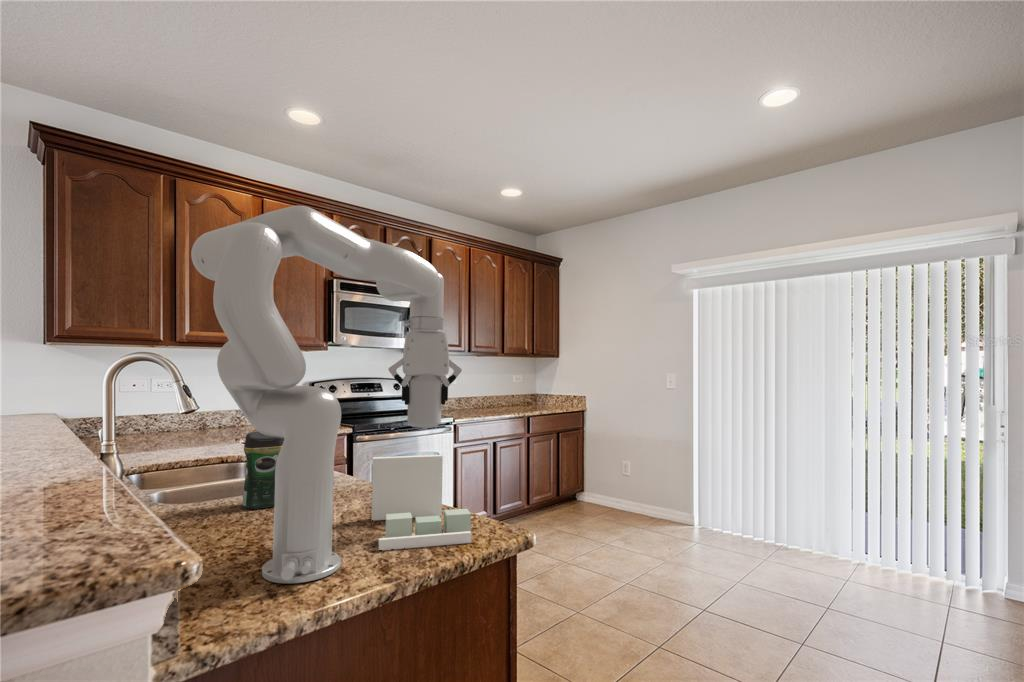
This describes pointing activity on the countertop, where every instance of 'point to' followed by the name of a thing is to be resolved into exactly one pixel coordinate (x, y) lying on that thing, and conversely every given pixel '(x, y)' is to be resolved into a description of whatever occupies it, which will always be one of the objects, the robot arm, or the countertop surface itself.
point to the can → (424, 401)
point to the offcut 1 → (398, 525)
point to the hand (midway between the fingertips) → (424, 403)
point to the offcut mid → (428, 525)
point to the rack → (410, 497)
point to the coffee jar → (260, 469)
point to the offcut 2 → (457, 520)
